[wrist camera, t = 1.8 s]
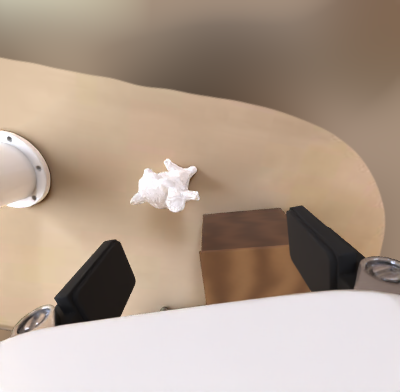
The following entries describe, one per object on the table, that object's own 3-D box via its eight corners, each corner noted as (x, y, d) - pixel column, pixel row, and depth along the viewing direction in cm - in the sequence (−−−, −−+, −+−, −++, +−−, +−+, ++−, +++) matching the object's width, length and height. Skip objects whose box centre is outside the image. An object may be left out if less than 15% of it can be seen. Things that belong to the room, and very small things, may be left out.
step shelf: (213, 309, 41) (215, 370, 31) (202, 214, 34) (199, 252, 24) (278, 306, 40) (303, 368, 30) (281, 207, 33) (314, 244, 23)
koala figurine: (201, 154, 30) (197, 171, 19) (204, 195, 33) (202, 232, 21) (148, 158, 31) (113, 177, 20) (155, 198, 33) (127, 235, 22)
